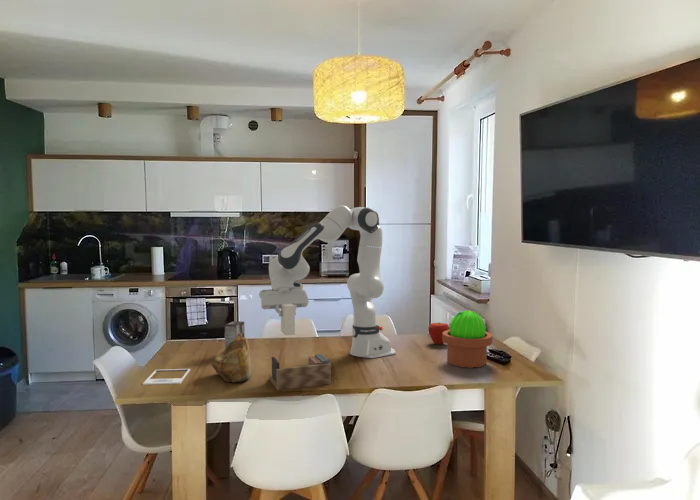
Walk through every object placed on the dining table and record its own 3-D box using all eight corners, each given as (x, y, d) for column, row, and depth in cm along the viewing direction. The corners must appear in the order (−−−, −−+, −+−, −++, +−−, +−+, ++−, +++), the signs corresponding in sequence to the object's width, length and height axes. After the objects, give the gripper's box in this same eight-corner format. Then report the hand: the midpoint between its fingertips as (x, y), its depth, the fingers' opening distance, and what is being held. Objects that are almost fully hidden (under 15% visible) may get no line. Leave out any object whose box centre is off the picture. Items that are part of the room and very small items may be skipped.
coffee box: (232, 353, 245) (232, 320, 244) (245, 353, 244) (244, 321, 243) (224, 358, 236) (224, 324, 235) (237, 359, 235) (236, 325, 234)
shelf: (320, 373, 214) (320, 350, 213) (330, 383, 201) (330, 359, 200) (269, 379, 206) (269, 355, 205) (277, 390, 193) (276, 364, 192)
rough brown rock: (216, 369, 221) (213, 337, 219) (254, 365, 222) (251, 333, 221) (207, 389, 198) (202, 353, 196) (249, 384, 199) (245, 348, 198)
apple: (449, 342, 268) (450, 320, 267) (449, 347, 257) (449, 324, 257) (428, 341, 270) (429, 318, 270) (427, 345, 260) (427, 323, 259)
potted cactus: (499, 362, 231) (501, 309, 229) (476, 373, 215) (478, 315, 213) (457, 353, 246) (458, 303, 244) (433, 363, 229) (434, 309, 228)
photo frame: (142, 383, 199) (155, 369, 216) (142, 385, 199) (155, 371, 216) (180, 381, 200) (190, 368, 218) (180, 384, 200) (190, 370, 218)
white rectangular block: (290, 330, 215) (290, 302, 214) (294, 334, 208) (294, 305, 207) (281, 331, 214) (280, 303, 213) (285, 335, 206) (285, 306, 205)
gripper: (259, 285, 213) (264, 312, 205) (305, 283, 220) (312, 309, 212) (257, 294, 217) (262, 321, 209) (303, 292, 225) (309, 317, 216)
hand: (287, 315), depth 210 cm, fingers closed on white rectangular block, 4 cm apart
